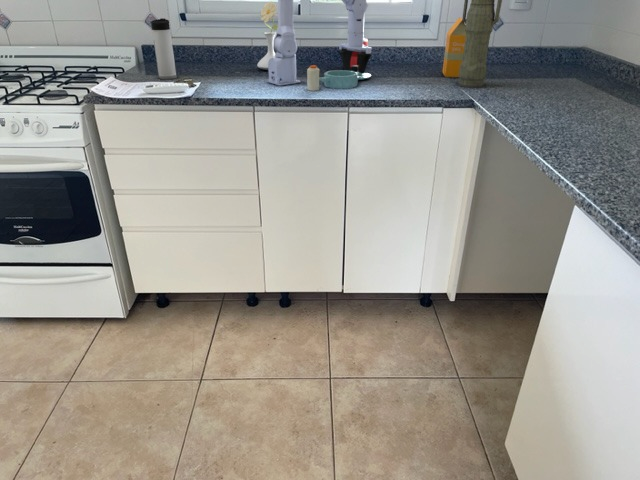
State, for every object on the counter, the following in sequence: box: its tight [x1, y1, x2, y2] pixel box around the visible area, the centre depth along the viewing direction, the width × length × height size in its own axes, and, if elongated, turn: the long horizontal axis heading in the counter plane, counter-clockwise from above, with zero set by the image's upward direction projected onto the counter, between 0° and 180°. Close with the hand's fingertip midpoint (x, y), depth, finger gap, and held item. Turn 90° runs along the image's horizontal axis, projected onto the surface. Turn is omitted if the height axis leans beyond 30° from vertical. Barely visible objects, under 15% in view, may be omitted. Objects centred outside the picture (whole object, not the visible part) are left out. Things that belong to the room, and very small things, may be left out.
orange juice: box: [442, 17, 466, 78], centre depth 183 cm, size 8×9×20 cm
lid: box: [350, 65, 372, 81], centre depth 181 cm, size 13×13×4 cm
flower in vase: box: [257, 0, 278, 71], centre depth 190 cm, size 13×11×25 cm
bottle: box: [306, 64, 320, 92], centre depth 163 cm, size 4×4×8 cm
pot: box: [319, 69, 362, 90], centre depth 170 cm, size 12×17×4 cm
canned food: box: [350, 37, 368, 70], centre depth 199 cm, size 8×8×11 cm
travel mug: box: [150, 17, 177, 80], centre depth 177 cm, size 6×7×20 cm
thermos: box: [457, 0, 503, 89], centre depth 163 cm, size 9×12×35 cm
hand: (354, 71), depth 181 cm, fingers open, 7 cm apart
